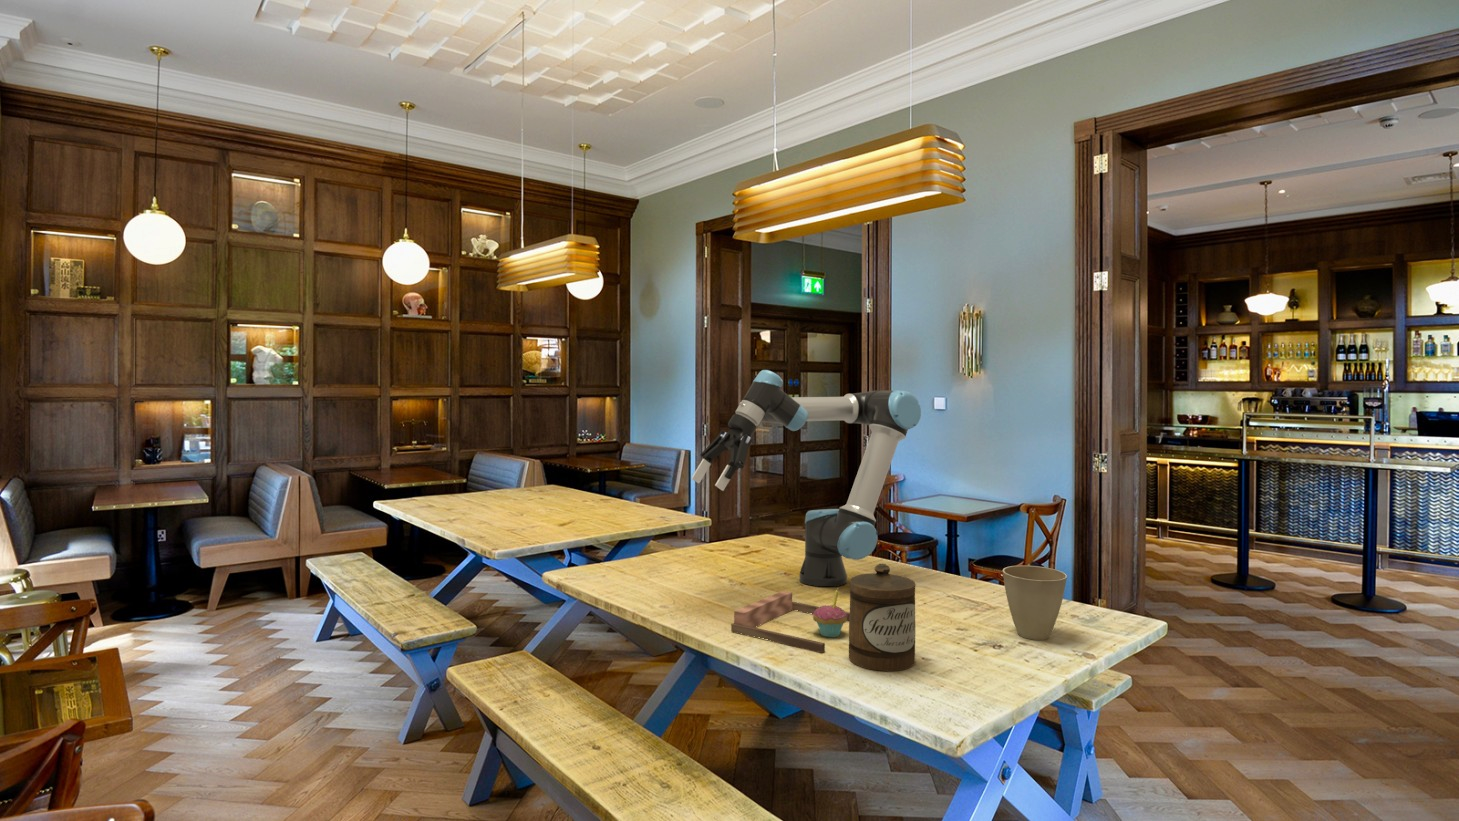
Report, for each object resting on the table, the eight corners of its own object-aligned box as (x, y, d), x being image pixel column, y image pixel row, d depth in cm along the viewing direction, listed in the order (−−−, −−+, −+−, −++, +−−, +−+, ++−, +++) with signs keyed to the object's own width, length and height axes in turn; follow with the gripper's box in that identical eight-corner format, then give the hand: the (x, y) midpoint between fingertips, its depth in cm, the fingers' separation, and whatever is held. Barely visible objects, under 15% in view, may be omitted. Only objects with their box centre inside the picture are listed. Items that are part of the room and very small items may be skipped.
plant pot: (989, 630, 193) (989, 568, 192) (1033, 623, 199) (1034, 563, 198) (1033, 649, 179) (1034, 582, 179) (1079, 640, 185) (1080, 576, 185)
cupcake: (850, 631, 192) (851, 584, 191) (841, 641, 184) (841, 592, 184) (818, 626, 195) (819, 581, 195) (807, 636, 188) (808, 588, 187)
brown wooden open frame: (785, 607, 212) (785, 589, 212) (870, 624, 197) (870, 605, 197) (731, 631, 191) (731, 612, 191) (822, 653, 176) (822, 631, 176)
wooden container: (872, 676, 162) (873, 574, 161) (836, 653, 176) (837, 560, 175) (928, 666, 168) (930, 568, 167) (889, 645, 182) (890, 554, 181)
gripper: (714, 409, 220) (676, 471, 215) (760, 415, 199) (719, 484, 194) (732, 423, 224) (695, 484, 219) (779, 431, 202) (739, 498, 197)
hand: (706, 484), depth 206 cm, fingers open, 13 cm apart
